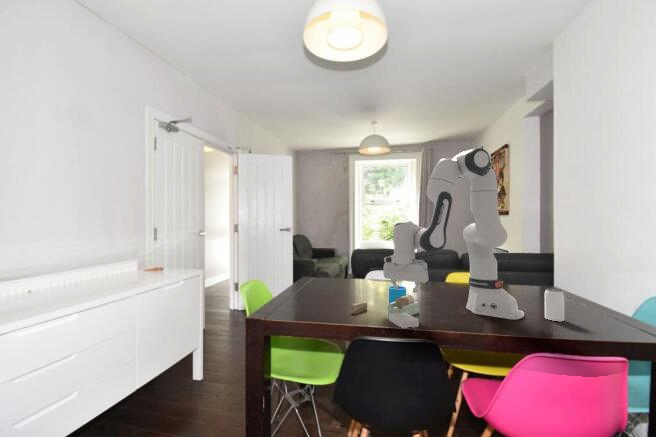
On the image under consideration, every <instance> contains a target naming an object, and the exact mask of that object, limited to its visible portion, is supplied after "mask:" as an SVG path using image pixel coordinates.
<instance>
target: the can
mask: <svg viewBox="0 0 656 437" xmlns="http://www.w3.org/2000/svg"><path fill="white" fill-rule="evenodd" d="M544 318H545V320H547V319H548V321H550V320H552V321H551V322H554V321H558V322H557V323H562V321H563V322H564V321H565V294H564V290H563V289H559V288H545V291H544Z"/></svg>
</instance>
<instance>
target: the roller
mask: <svg viewBox="0 0 656 437" xmlns="http://www.w3.org/2000/svg"><path fill="white" fill-rule="evenodd" d="M414 302H415V297H414V296H413V295H411V294H406V296H403V297H399V298H397V299H396V300H395V304H396V306H397V307H398V308H402V306H405V305H408V304H411V303H414Z"/></svg>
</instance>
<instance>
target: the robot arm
mask: <svg viewBox="0 0 656 437" xmlns="http://www.w3.org/2000/svg"><path fill="white" fill-rule="evenodd" d="M491 160H492V159H491V156H490V154H489V153H488V151H487V150H486V149H484V148H479V147H476V148H471V149H469V150H464V151H461V152H459V154H456V155H454V156H452V157H450V158H442V159H440V160H439V161H438V162H436V165H435V167H434V168H433V170H432V172H431V175H430V177H429V179H428V183H427V187H426V196H427V198H428V199H429V200H430V201H431V202H432V203H433V207H434V208H433V212H432V216H431V221H430V224H429V226H428V227H427V228H426V227H423V226H420V225H417V224H416V223H414V222H413V221H411V220H403V221H399V222H397V223H395V224H394V225H393V232H392V234H393V235H392V240H393V245H394V247H393V254H391V255H389V256H386V257H384V258H383V261H384V264H383V267H382V268H383V271H382V272H383V277H384V278H385V279H387V280H388V279H389V280H391V281H390V282H391V284H392V286H394V289H395V290H398V289H399V286H400V285H398V283H397V281H405V282H413V283H414V285H415V287H413V288H412V293H413V294H414V293H415V294H416V293H419V289H420V288H419V287H420V285H421V284H426V283H427V282H428V281H429V272H428V271H429V270H428V263H427V262H426V261H425V260H424V259H416V253H415V252H416V251H415V250H420V251H425V252H427V253H429V254H437V253H438V254H439V253H440V252H441V251H442V250H444V248H445V247H446V243H447V227H448V222H449V218H450V213H451V210H452V204H453V193H454V191H455V187H456V185H457V180H458V179H461V178H468V180H469V182H470V184H469V185H470V186H469V187H470V189H469V209H470V210H469V211H471V213H472V216H473V220H474V222H473V223H470V224H469V225H466V226H465V227H464V228H463V231H462V237H463V240H464V241H465V243H466V248H467V252H468V257H469V277H468V289H469V293H468V299H467V303H466V305H465V308H466V310H468V311H469V312H470V311H471V312H472V313H473V314H475V315H479V316H481V315H482V316H486V317H487V316H488V317H494V318H501V319H507V320H513V321H514V320H520V319H522V318H524V317H525V312H524V311H523V310H519V306H518V302H517V299H516V298H515V297H514V296H512V295H511V294H510V293H508V292H507V290H505V289H504V288H503V284H504V281H503V280H502V281H501V280H500V279H499V278H498V260H497V259H496V257H495V255H494V252H493V249H495V248H500V247H502V246H504V245H505V243H506V241H507V239H508V232H507V230H506V228H504V226H503V224H502V220H501V218H500V213H499V208H498V202H499V201H498V200H499V199H498V195H499V194H498V193H499V192H498V191H499V190H498V180H497V179H498V178H497V175H496V171H495V170H494V169H493V168H491V167H492V163H491Z"/></svg>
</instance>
